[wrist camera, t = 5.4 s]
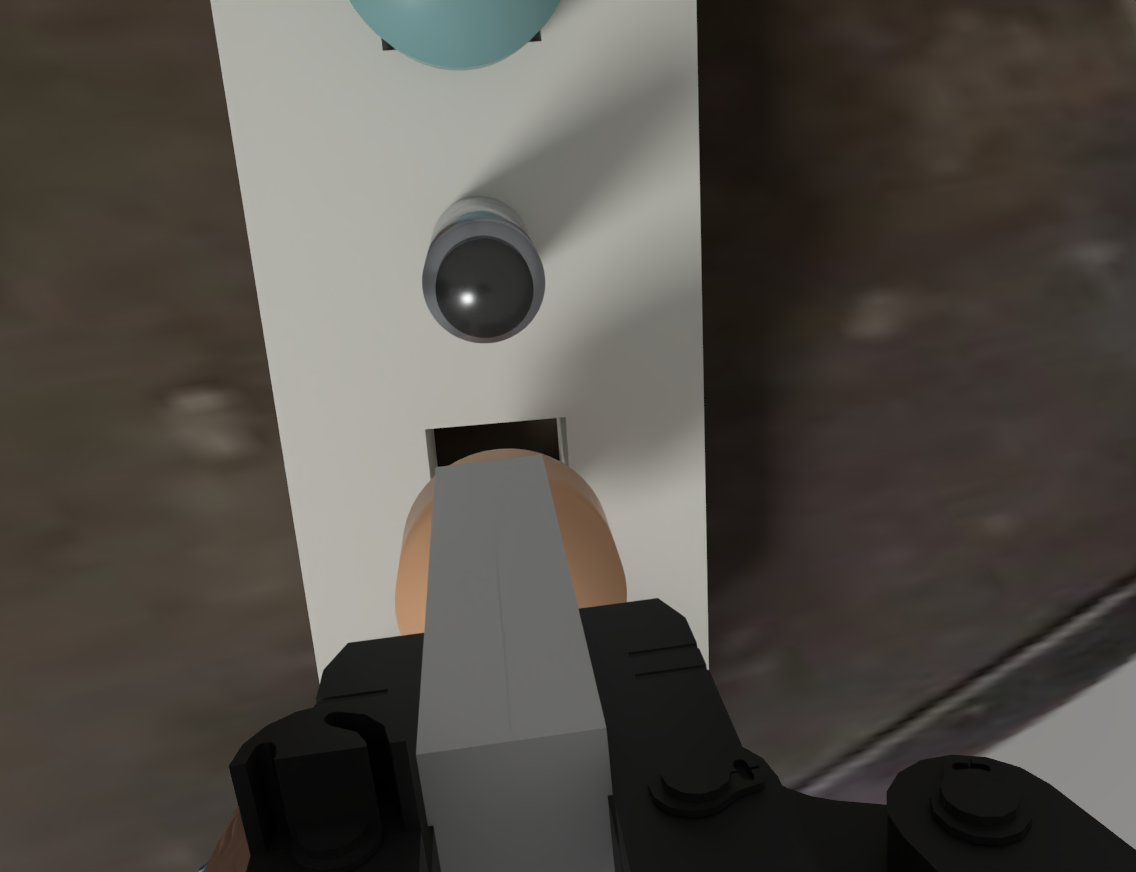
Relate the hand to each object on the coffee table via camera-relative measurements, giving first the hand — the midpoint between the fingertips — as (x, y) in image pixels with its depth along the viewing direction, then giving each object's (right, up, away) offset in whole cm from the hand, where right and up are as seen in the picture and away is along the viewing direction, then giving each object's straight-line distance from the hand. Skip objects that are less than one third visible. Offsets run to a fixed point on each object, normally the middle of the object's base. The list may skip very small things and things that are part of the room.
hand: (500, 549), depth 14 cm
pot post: (-1, +7, +13) cm, 14 cm away
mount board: (-2, +8, +16) cm, 18 cm away
